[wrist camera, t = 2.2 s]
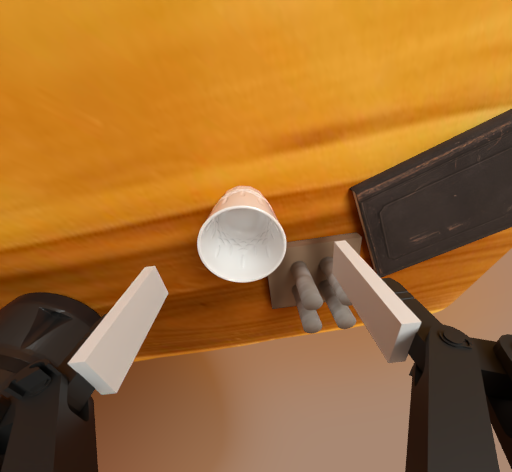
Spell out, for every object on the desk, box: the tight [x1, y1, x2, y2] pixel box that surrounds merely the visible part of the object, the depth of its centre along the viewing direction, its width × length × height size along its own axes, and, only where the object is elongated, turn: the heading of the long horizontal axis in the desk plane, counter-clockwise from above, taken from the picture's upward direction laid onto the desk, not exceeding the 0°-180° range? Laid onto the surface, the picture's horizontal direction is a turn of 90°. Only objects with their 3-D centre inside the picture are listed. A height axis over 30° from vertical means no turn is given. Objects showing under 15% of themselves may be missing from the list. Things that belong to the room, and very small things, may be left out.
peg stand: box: [268, 232, 362, 333], centre depth 27 cm, size 14×12×8 cm
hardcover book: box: [350, 109, 512, 278], centre depth 26 cm, size 16×23×2 cm
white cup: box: [197, 186, 286, 282], centre depth 21 cm, size 8×8×10 cm
